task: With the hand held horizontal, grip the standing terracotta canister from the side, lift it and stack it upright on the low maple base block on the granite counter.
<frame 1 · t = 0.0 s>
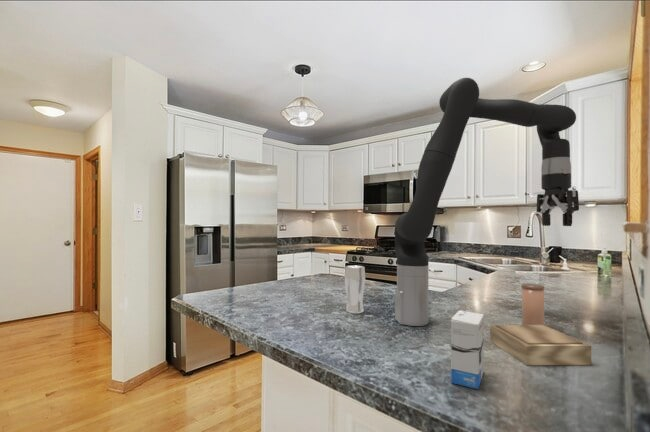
hand: (556, 225, 99), 29 cm above the countertop, tool pointing down, fingers open, 8 cm apart
beer glass: (354, 311, 108), on the countertop
canister: (533, 331, 89), on the countertop
base block: (536, 351, 75), on the countertop
ink box: (467, 378, 62), on the countertop
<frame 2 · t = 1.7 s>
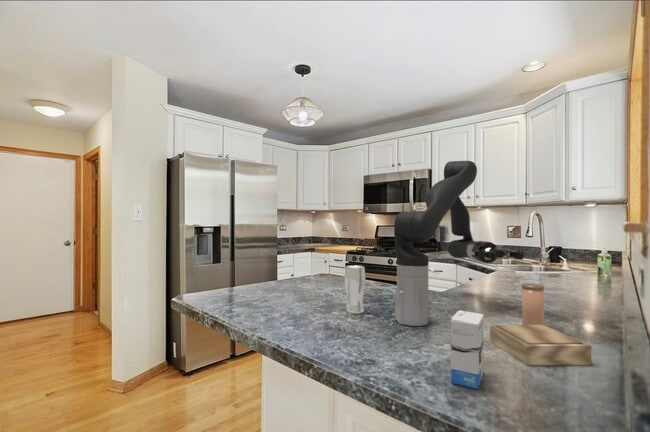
hand: (508, 256, 100), 20 cm above the countertop, tool horizontal, fingers open, 8 cm apart
nothing on the countertop moved.
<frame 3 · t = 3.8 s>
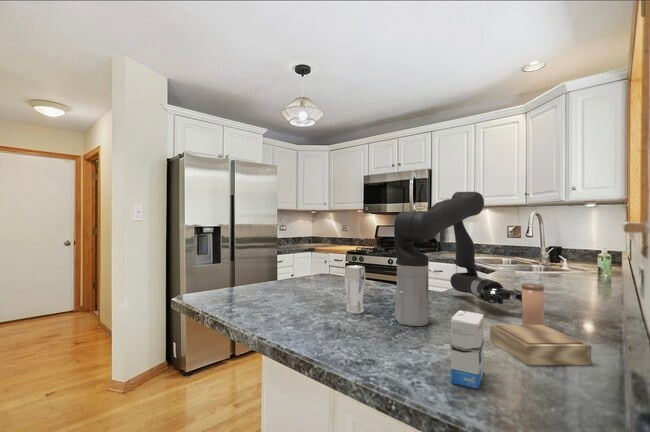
hand: (515, 300, 97), 7 cm above the countertop, tool horizontal, fingers open, 8 cm apart
nothing on the countertop moved.
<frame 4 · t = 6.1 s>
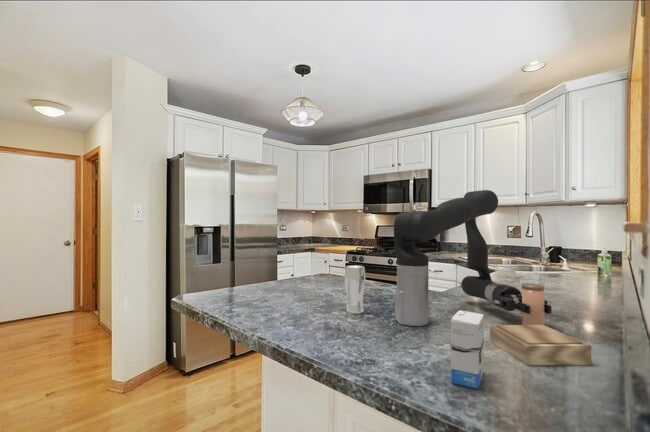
hand: (539, 309, 87), 7 cm above the countertop, tool horizontal, fingers closed on canister, 5 cm apart
canister: (533, 331, 89), on the countertop, touching gripper
everything else where it was.
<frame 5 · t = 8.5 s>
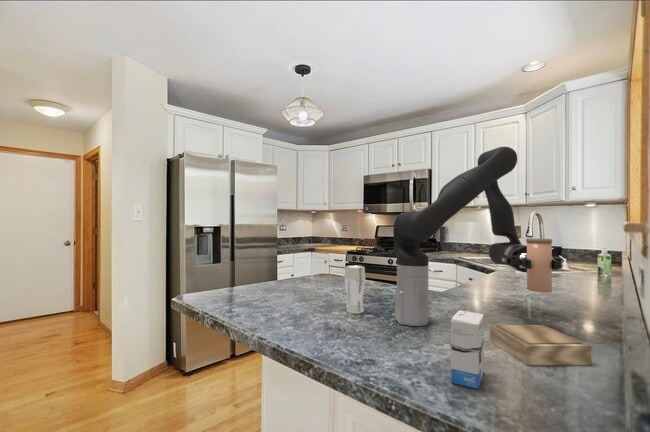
hand: (543, 264, 78), 20 cm above the countertop, tool horizontal, fingers closed on canister, 5 cm apart
canister: (539, 290, 80), point 13 cm above the countertop, touching gripper
everything else where it was.
when the fingers open (12 cm above the countertop, at t = 11.3 s): canister stays where it is, resting on base block.
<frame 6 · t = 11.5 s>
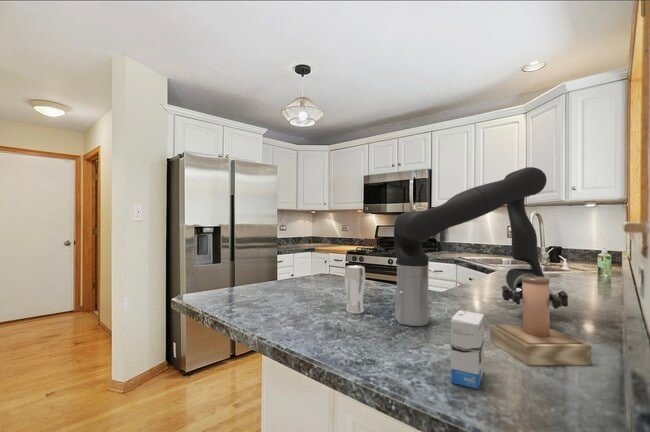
hand: (536, 302, 73), 12 cm above the countertop, tool horizontal, fingers open, 6 cm apart
canister: (535, 332, 75), point 4 cm above the countertop, touching base block
everything else where it was.
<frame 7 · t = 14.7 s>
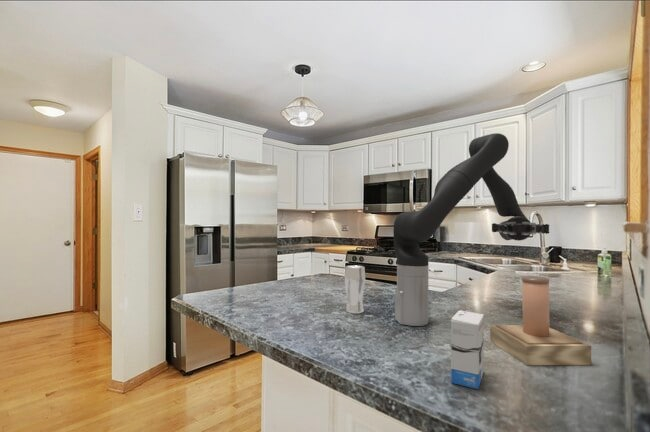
hand: (520, 228, 89), 29 cm above the countertop, tool horizontal, fingers open, 8 cm apart
nothing on the countertop moved.
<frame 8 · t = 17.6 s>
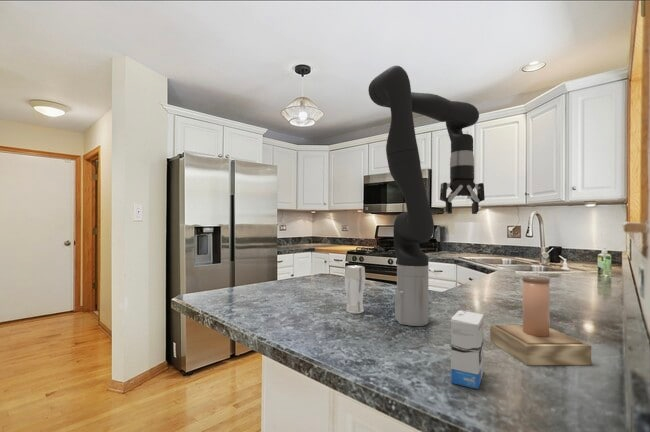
hand: (462, 213, 108), 33 cm above the countertop, tool pointing down, fingers open, 8 cm apart
nothing on the countertop moved.
at the end: canister inside the target area on the base block (0.1 cm from its centre), point 4.3 cm above the base block's base; canister tilted 1°; the gripper is holding nothing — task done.
